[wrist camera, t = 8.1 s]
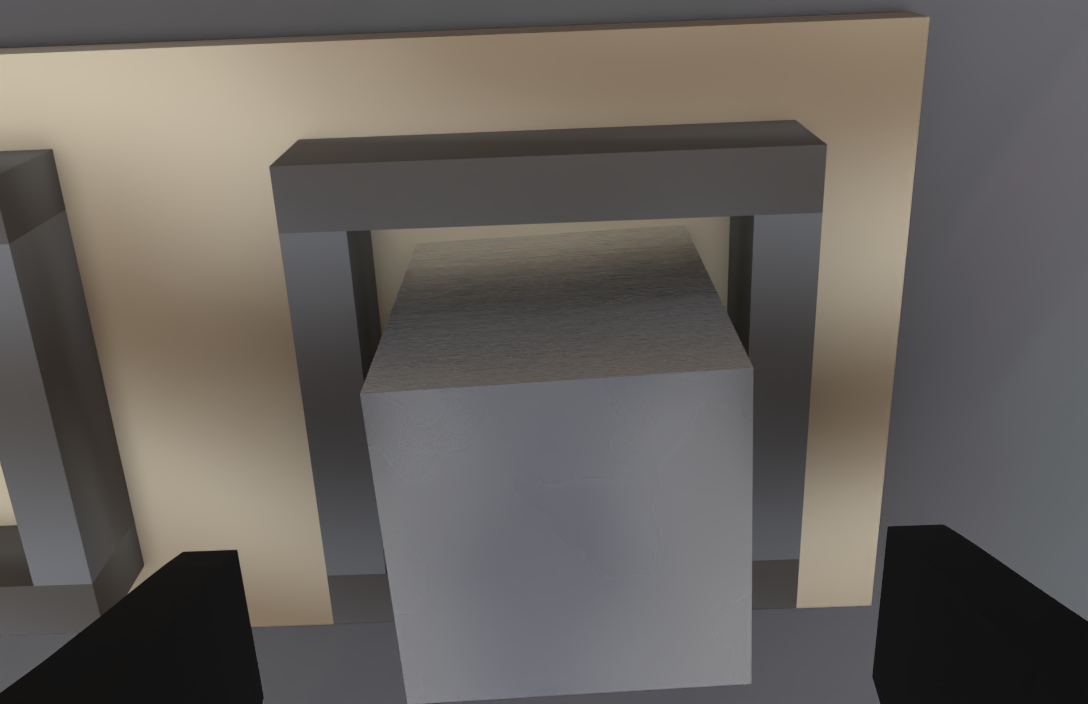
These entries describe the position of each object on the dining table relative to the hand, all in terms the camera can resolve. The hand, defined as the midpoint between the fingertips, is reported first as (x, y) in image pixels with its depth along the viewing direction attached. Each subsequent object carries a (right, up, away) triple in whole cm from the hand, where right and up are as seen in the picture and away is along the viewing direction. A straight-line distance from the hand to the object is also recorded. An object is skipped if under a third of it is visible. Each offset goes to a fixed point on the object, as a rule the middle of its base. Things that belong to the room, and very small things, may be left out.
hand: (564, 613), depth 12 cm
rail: (-6, +3, +8) cm, 10 cm away
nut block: (0, +3, +7) cm, 7 cm away
